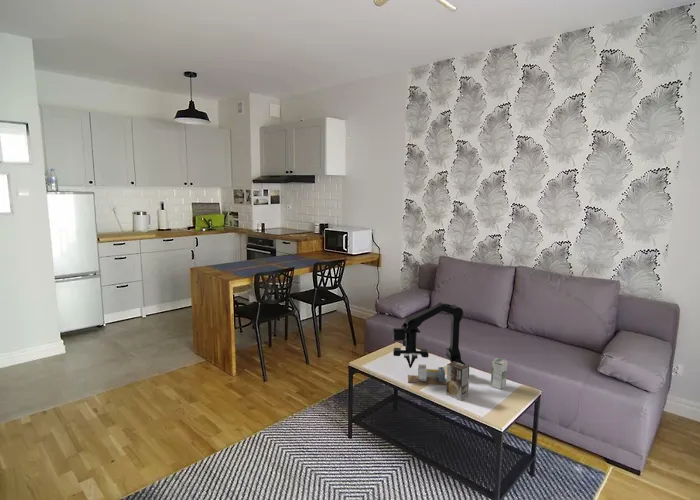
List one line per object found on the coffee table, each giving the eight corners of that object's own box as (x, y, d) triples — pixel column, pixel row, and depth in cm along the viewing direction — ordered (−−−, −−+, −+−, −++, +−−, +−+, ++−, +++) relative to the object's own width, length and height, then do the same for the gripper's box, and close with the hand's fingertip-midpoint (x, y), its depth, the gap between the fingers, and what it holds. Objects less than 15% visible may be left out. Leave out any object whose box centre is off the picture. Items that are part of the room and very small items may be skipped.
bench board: (444, 378, 229) (444, 377, 229) (446, 385, 221) (446, 383, 221) (407, 376, 231) (407, 375, 231) (408, 382, 223) (408, 381, 223)
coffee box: (468, 397, 209) (470, 366, 206) (461, 401, 204) (462, 369, 202) (453, 390, 215) (454, 360, 213) (445, 394, 211) (446, 363, 209)
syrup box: (495, 383, 224) (497, 357, 222) (506, 386, 220) (507, 360, 218) (490, 386, 220) (491, 360, 218) (501, 390, 216) (502, 363, 214)
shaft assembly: (419, 381, 224) (419, 369, 223) (419, 376, 229) (419, 365, 228) (444, 382, 222) (445, 370, 222) (443, 378, 228) (443, 366, 227)
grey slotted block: (418, 381, 223) (419, 369, 222) (418, 375, 230) (418, 364, 229) (426, 381, 223) (426, 369, 222) (425, 376, 229) (425, 364, 228)
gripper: (427, 335, 234) (426, 362, 236) (393, 334, 236) (393, 360, 238) (429, 342, 223) (428, 370, 225) (393, 341, 225) (393, 368, 227)
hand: (410, 367), depth 229 cm, fingers closed
